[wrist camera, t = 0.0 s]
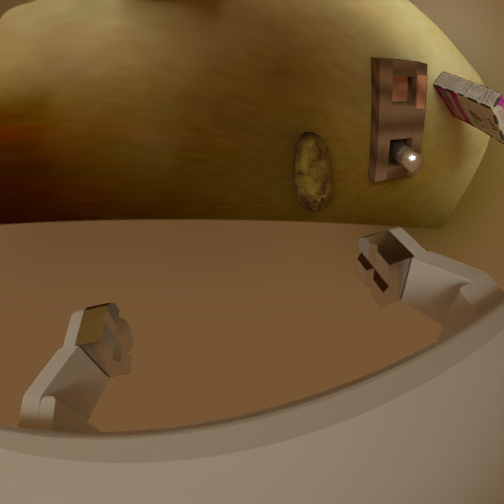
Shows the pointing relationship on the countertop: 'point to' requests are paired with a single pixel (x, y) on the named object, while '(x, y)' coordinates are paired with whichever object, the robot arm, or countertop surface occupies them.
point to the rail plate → (395, 113)
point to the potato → (312, 172)
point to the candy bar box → (473, 104)
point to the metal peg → (406, 156)
